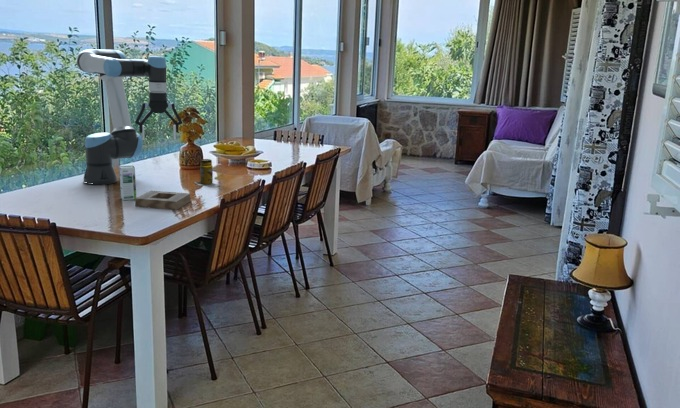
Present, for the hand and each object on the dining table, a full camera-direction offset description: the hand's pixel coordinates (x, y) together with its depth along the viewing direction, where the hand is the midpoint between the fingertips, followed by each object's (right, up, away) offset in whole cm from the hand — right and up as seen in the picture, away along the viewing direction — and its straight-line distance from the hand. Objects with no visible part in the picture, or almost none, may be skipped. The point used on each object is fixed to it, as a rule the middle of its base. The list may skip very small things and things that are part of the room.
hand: (159, 139), depth 268 cm
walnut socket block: (+6, -29, -14) cm, 33 cm away
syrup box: (-11, -27, -7) cm, 30 cm away
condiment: (+14, -19, +27) cm, 36 cm away
